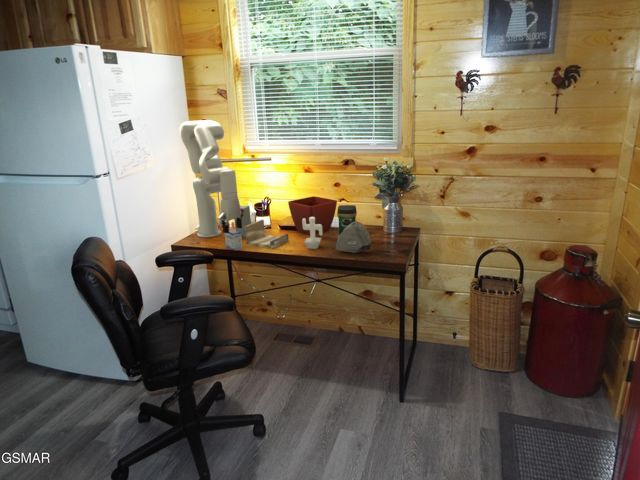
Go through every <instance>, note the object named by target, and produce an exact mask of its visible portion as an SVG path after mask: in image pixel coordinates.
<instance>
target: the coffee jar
mask: <svg viewBox="0 0 640 480" xmlns="http://www.w3.org/2000/svg"><path fill="white" fill-rule="evenodd" d="M357 214H358V211H357V206H356V205H355V204H344V205H343V204H339V205H338V206H337V210H336V215H337V218H338V232H337V238H338V237H339V235H340V234H341V233H342V232H343V230H344V229H345V228H346V227H347V226H349V225H350V224H351V223H352V222H355V221H357V220H356V217H357Z"/></svg>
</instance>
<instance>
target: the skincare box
mask: <svg viewBox="0 0 640 480" xmlns="http://www.w3.org/2000/svg"><path fill="white" fill-rule="evenodd" d="M240 209H243V210H244V212H243V217H242V228H237V227H236V220H237V219H236V218H235V219H233V220H234V226H235V228H234V229H235V231H239V232H241V238H245V239H246V234H245V226H247V225H249V224H252V216H251V211H250V210H251V209H250V205H240Z"/></svg>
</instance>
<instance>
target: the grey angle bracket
mask: <svg viewBox="0 0 640 480" xmlns="http://www.w3.org/2000/svg"><path fill="white" fill-rule="evenodd" d="M265 233H266V232H265V220H264V219H259V220H257V221H255V222H253V223H252V222H251V224H249V225H247V226H245V234H246V238H245V244H246V245H247V246H253V247H254V246H255V247H259V248H266V249H275V248H278V247H279V246H281V245H282V244H285V243H287V242H289V234H287V233H285V234H283V235H280V236H275V235H270V234H265Z"/></svg>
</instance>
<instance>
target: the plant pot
mask: <svg viewBox="0 0 640 480" xmlns="http://www.w3.org/2000/svg"><path fill="white" fill-rule="evenodd" d="M287 203H288V209H289V212H290V215H291V219H292V221H293V224H294V226H295V228H296V231H297V232H298V233H302V234H306V235H309V236H310V230H304V229H303V223H302V220H303V218H305V219H306V224H310V221H309V218H310V217H315V224H321V225H322V232H323V233H327V232H330V230H331V227H332V224H333V221H334V217H335V215H336V211H337V205H338V204H337V203H338V200H336V199H331V198H327V197H320V196H315V195H313V196H308V197H307V196H306V197H304V198H299V199H294V200H289V201H287ZM316 235H319V230H315V236H316Z"/></svg>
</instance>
